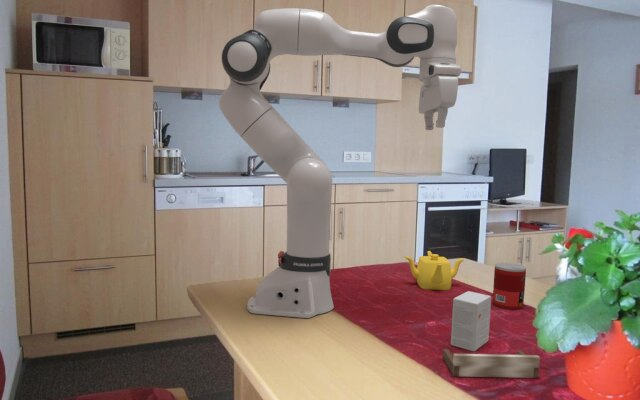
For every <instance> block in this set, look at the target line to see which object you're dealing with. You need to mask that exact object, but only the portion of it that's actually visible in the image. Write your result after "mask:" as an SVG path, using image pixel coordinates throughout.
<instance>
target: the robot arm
mask: <svg viewBox="0 0 640 400" xmlns="http://www.w3.org/2000/svg"><path fill="white" fill-rule="evenodd" d="M253 25H254V26H253V29H252V28H251V29H249V30H246V31H245V32H243V33H241V34H239V35H235V36H234V37H233V38H231V39H229V41H228V42H227V43H225V45H224V47H223V49H222V52H221V64H222V68H223V70H224V72H225V73H226V74H227V75H228V77H229V84H228V87H227V88H226V89H225V90H224V91H223V92H222V94H221V96H220V98H219V100H218V106H219V109H220V112H221V113H222V114H223V116H224V118H225V119H226V120H227V122H228V123H229V124H230V126H231V127H232V128H233V130H234V131H235V132H236V134H237V135H238V136H239V137H240V138H241V139H242V140H243V141H244V142H245V144H247V145H248V147H250V149H252V151H253V152H254V153H255V154H256V155H257V156H258V157H259V158H260V159H261V160H262V161H263V162H264V163H265V164H266V165H267V166H268V167H270V169H271V170H273V171H274V172H275V174H277V175H278V176H279V177H280V179H282V181H284V182H285V183H286V193H287V194H286V251H284V250H280V251H279V252H278V254H277V258H278V261H277V263H278V267H276V268H275V269H274V270H272V271H271V272H270V273H268V274H267V275H265V276H264V277H263V278H262V279H261V280H260V281H259V283H258V285H257V287H256V292H255V294H254V295H252V296H251V297H250V298H249V299H248V300H247V304H246V309H247V311H248V312H249V313H251V314H255V315H266V316H277V317H290V318H291V317H292V318H303V319H309V318H312V317H314V316H316V315H322V314H326V313H328V312H331V311H332V310H333V309H334V308H335V307H334V306H335V305H334V302H333V299H332V298H333V297H332V292H331V283H330V281H331V280H330V276H331V271H332V256H331V253H330V240H331V239H330V236H331V235H330V231H331V228H330V227H331V216H332V215H331V214H332V211H331V210H332V194H333V175H332V173H331V170H330V169H329V167H328V165H327V164H326V163H325V161H323V159H321V158H320V156H319V155H318V154H317V153H316V152H315V151H314V150H313V149H312V148H311V146H309V145H308V143H306V141H305V140H304V139H303V138H302V137H301V136H300V135H299V134H298V132H296V130H294V128H293V127H292V126H291V125H290V124H289V123H288V122H287V121H286V119H285V118H284V117H283V116H281V114H280V113H279V112H278V111H277V110H276V109H275V108H274V107H273V106H272V105H271V103H270V102H269V101H268V100H267V99H266V98H265V96H264V95H263V94H262V92H261V90H262V88H263V86H264V84H265V83H266V81H267V79H268V78H269V75H270V72H271V61H272V59H274V58H275V57H279V56H284V55H291V56H293V55H294V56H306V57H310V56H311V57H312V56H313V57H315V56H316V57H317V56H337V55H339V56H349V57H361V58H368V59H374V60H378V61H379V62H382V63H383V64H385V65H388V66H390V67H394V68H401V67H402V68H403V67H405V66H407V65H409V64H410V63H411V62H412V61H413V60H414V58H418V59H419V72H418V73H419V74H418V78H419V79H418V81H421V82H423V84H422V85H421V87H420V90H419V91H420V92H419V98H418V99H419V100H418V112H419V114H421V115H424V116H423V117H424V123H425V124H424V125H425V130H426V131H433V130H434V125H435V128H439V129H443V128H445V126H446V120H447V117H448V112H449V111H448V110H449V109H450V108H452V107H454V106H455V104H456V102H457V97H458V91H459V90H458V89H459V77H460V76H461V74H462V72H461V71H462V67H461V65H459V64H457V57H456V47H457V45H458V20H457V14H456V12H455V10H453V8H451V7H449V6H447V5H444V4H437V3H435V4H430V5H427V6H425V8H424V9H422V10H420V11H418V12H416V13H413V14H410V15H404V16H400V17H397V18H395V19H394V20H393V21H391V23H390V24H389V26H388V27H387V29H386V30H385V31H383V32H380V33H375V32H373V33H372V32H366V31H363V32H362V31H356V30H350V29H346V28H345V27H342V26H341V25H339V24H338V23H337V22H336V21H335V20H334V19H333V18H332V16H331V15H330V14H328V13H326V12H323V11H320V10H316V9H311V8H310V9H309V8H297V7H295V8H291V7H288V8H287V7H285V8H274V9H266V10H263V11H261V12H260V13H259V14H258V15H257V16H256V18H255V21H254V24H253ZM435 113H437V118H436V120H435V121H436V122H435V124H434V115H435Z"/></svg>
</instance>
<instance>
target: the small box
mask: <svg viewBox="0 0 640 400" xmlns="http://www.w3.org/2000/svg"><path fill="white" fill-rule="evenodd" d="M491 306H492V296H491V295H487V294H483V293H479V292H474V291H470V290H468V291H466V292H463V293H462V294H460V295H458V296H456V297H454V298H453V299H452V313H451V314H452V315H451V317H452V318H451V333H450V336H451V337H450V346H453V347H457V348H461V349H464V350H467V351H471V352H476V351H477V350H478V349H479V348H481V347H483V346H484V345H485V344H487V342H489V335H490V321H491Z"/></svg>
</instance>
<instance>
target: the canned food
mask: <svg viewBox="0 0 640 400" xmlns="http://www.w3.org/2000/svg"><path fill="white" fill-rule="evenodd" d="M493 274H494V275H493V289H492V290H493V291H492V304H493V305H494V306H495V307H498V308H501V309H505V310H520V309H522V308H523V306H524V303H525V302H524V301H525V291H526V278H527V277H526V276H527V275H526V274H527V268H526V266H524V265H523V264H518V263H513V262H512V263H510V262H497V263H495V265H494V271H493Z"/></svg>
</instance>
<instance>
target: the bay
mask: <svg viewBox="0 0 640 400" xmlns="http://www.w3.org/2000/svg"><path fill="white" fill-rule="evenodd" d="M442 354H443V355H442V359H443V361H444V363H445V364H446V366H447V367H448V369H449V371H450V373H451V374H452V376H453V377H469V378H470V377H472V378H473V377H477V378H479V377H482V378H483V377H484V378H523V379H525V378H526V379H527V378H528V379H530V378H531V379H532V378H533V379H538V378H539V373H540V363H541V361H540V360H541V357H540V356H539V355H537V354H533V355H532V354H526V353H525V352H524V351H523V350H516V354H490V353H489V354H488V353H484V354H483V353H451V351H450V350H449V348H443V352H442Z"/></svg>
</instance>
